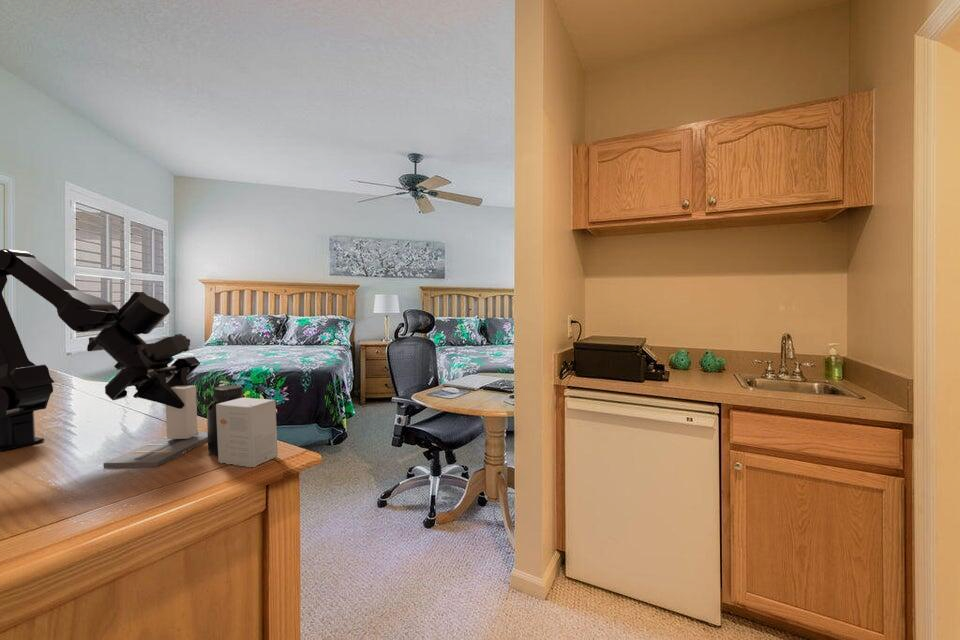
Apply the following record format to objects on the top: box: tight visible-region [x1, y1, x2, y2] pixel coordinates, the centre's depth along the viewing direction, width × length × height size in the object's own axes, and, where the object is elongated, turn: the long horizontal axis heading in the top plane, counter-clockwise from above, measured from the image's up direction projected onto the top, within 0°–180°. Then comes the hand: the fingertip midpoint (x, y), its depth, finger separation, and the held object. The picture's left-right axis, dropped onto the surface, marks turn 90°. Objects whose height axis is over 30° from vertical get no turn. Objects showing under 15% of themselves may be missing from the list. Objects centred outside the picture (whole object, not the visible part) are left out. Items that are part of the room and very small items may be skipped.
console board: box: [102, 428, 208, 469], centre depth 79 cm, size 17×9×2 cm, turn 1°
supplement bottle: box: [206, 384, 244, 456], centre depth 79 cm, size 7×7×12 cm
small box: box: [216, 397, 279, 468], centre depth 74 cm, size 8×6×10 cm
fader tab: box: [165, 385, 198, 439], centre depth 84 cm, size 3×4×10 cm
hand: (188, 405), depth 84 cm, fingers closed on fader tab, 3 cm apart
